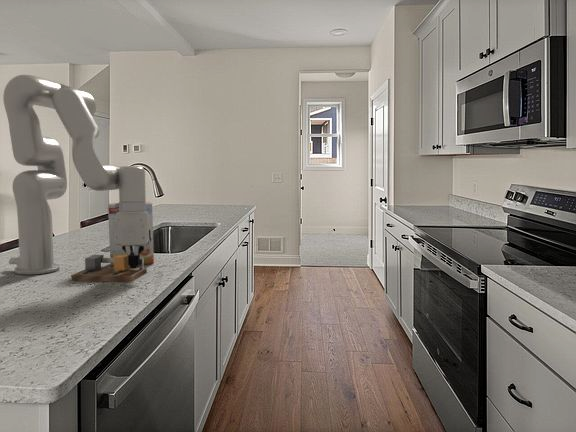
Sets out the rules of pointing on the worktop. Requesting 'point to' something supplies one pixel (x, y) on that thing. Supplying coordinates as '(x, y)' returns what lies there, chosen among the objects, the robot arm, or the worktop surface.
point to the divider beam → (95, 262)
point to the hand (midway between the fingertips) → (134, 267)
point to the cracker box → (145, 254)
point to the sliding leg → (120, 262)
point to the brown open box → (110, 275)
